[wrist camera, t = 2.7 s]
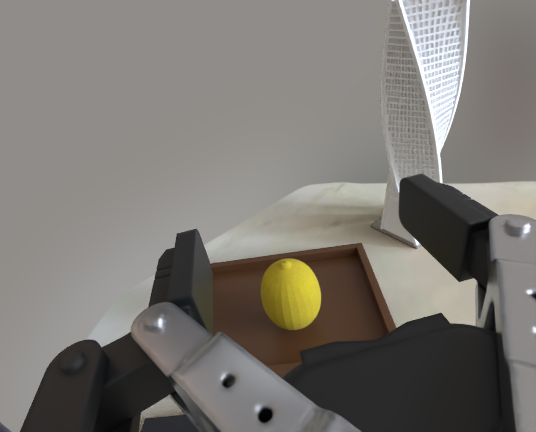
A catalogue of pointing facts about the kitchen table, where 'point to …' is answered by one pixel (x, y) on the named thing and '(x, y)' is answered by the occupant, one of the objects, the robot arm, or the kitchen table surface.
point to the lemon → (290, 294)
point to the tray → (327, 320)
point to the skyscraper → (419, 93)
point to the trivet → (169, 424)
